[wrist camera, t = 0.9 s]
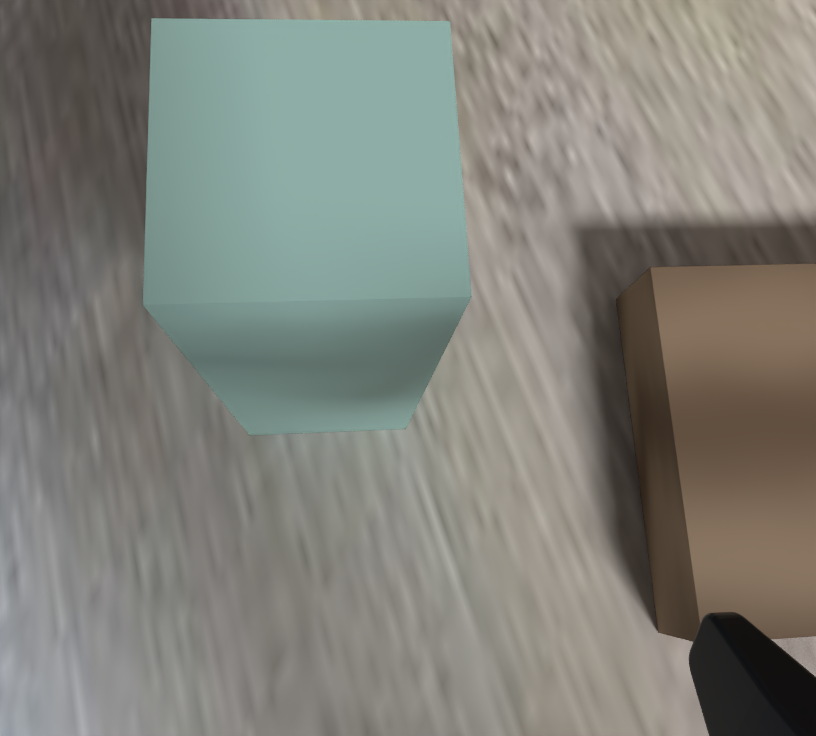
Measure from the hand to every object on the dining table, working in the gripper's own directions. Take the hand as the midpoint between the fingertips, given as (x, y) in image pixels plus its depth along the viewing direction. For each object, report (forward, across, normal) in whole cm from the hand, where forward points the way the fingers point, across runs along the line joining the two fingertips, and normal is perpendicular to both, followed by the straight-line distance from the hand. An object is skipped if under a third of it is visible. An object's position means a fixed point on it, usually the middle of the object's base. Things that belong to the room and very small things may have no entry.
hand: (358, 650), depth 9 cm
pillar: (+15, 0, +5) cm, 16 cm away
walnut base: (+12, -15, +7) cm, 21 cm away
